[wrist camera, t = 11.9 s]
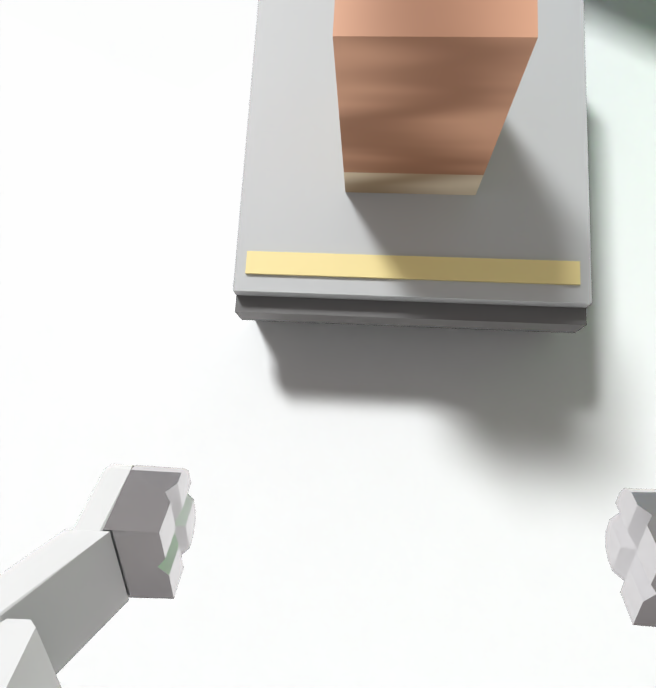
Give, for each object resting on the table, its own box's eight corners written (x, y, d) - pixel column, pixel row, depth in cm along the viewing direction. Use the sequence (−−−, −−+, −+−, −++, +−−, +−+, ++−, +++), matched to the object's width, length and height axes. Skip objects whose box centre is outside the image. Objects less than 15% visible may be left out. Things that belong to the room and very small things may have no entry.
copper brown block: (345, 192, 22) (332, 36, 14) (351, 77, 23) (342, -131, 15) (475, 195, 21) (538, 37, 13) (476, 78, 22) (535, -134, 14)
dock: (252, 332, 25) (230, 306, 21) (275, 55, 27) (259, -16, 23) (556, 345, 24) (593, 320, 20) (551, 57, 27) (584, -16, 23)
